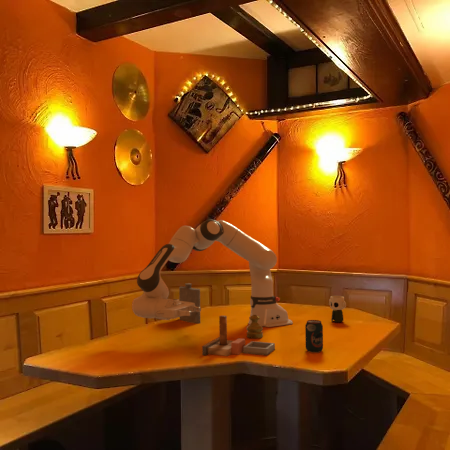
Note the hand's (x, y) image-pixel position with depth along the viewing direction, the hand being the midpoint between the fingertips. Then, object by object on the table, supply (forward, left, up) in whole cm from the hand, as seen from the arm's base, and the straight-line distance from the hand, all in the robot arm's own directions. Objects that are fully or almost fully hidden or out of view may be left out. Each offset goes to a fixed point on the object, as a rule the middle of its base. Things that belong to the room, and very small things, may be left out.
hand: (195, 311), depth 211 cm
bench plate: (-10, +8, -15) cm, 20 cm away
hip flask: (-10, -55, -15) cm, 58 cm away
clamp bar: (-6, +5, -15) cm, 17 cm away
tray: (-23, +14, -15) cm, 31 cm away
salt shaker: (-30, -10, -15) cm, 35 cm away
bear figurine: (-82, -27, -15) cm, 88 cm away
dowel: (-10, +8, -15) cm, 20 cm away
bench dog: (-15, +12, -15) cm, 24 cm away
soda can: (-44, +21, -15) cm, 51 cm away
